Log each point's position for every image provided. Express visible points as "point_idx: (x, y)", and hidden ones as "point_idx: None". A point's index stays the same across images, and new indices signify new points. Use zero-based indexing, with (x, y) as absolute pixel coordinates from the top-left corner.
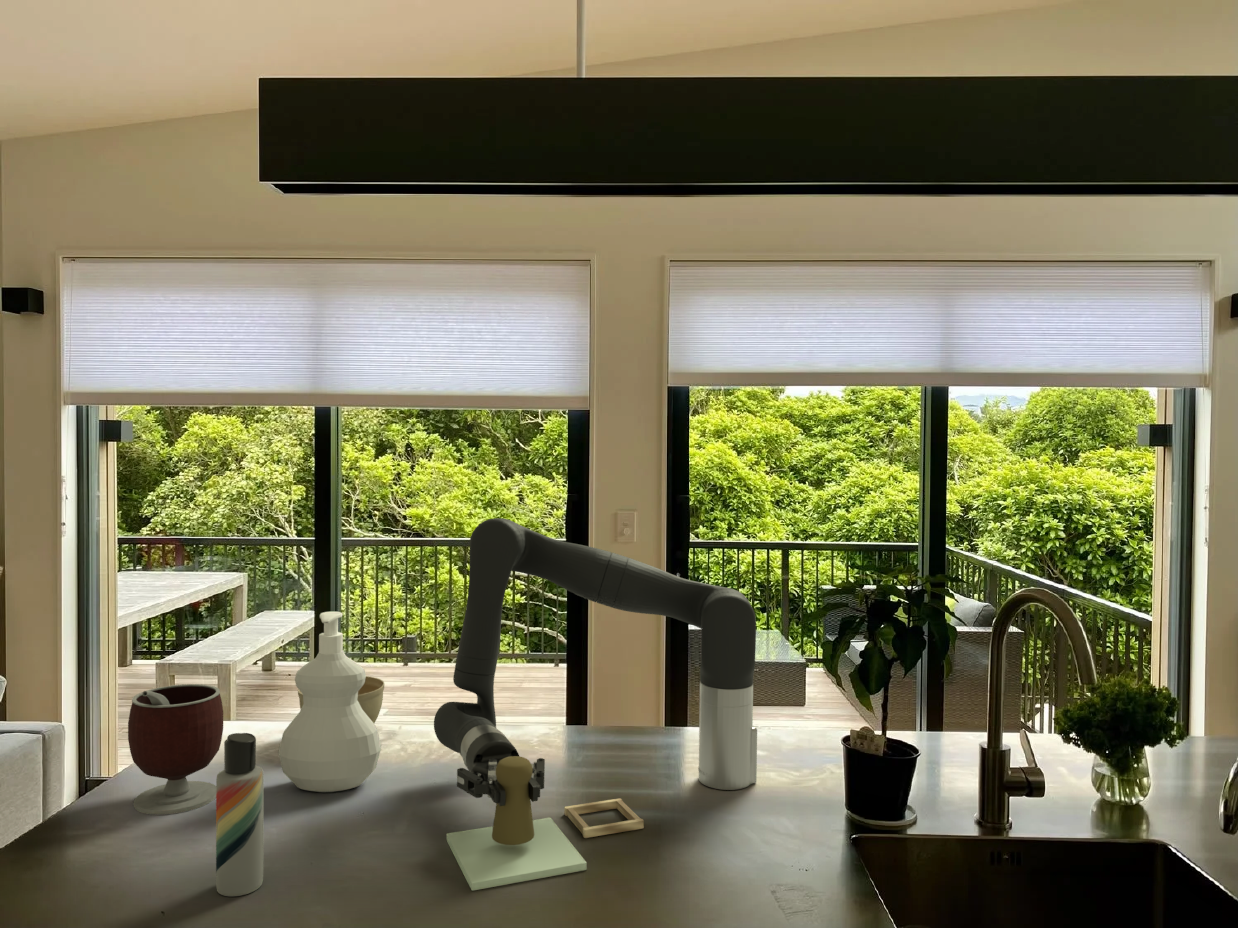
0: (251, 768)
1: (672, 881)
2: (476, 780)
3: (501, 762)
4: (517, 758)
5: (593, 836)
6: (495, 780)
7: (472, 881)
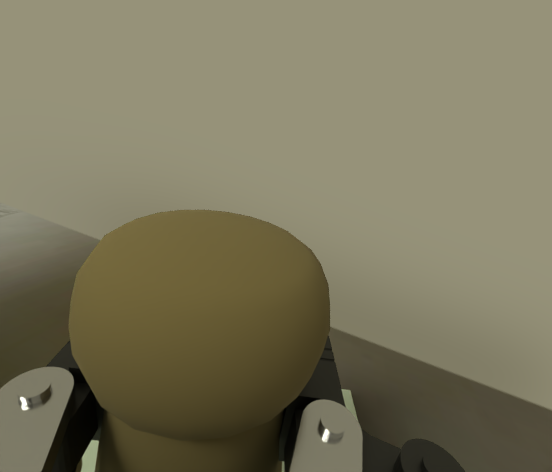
0: None
1: (12, 283)
2: (446, 457)
3: (306, 257)
4: (192, 227)
5: None
6: (310, 403)
7: (348, 396)
